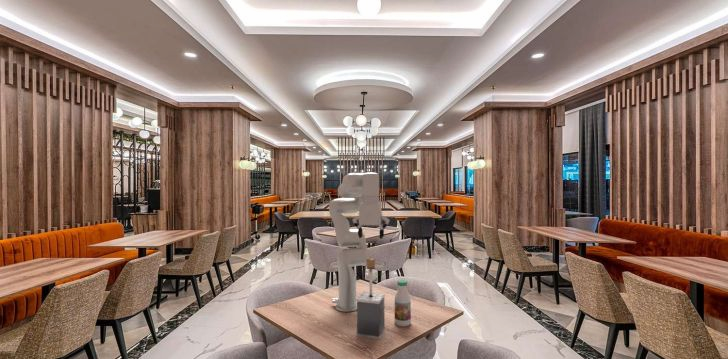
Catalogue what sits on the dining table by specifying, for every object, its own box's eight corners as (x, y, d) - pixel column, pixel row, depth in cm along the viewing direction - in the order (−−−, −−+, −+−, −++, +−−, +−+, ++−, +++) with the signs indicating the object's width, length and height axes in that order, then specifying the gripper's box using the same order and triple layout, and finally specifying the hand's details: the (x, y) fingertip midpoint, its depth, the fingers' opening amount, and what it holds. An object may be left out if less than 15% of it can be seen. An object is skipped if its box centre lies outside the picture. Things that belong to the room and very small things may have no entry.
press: (356, 336, 136) (356, 299, 136) (365, 323, 148) (364, 289, 149) (379, 339, 133) (379, 301, 133) (386, 326, 145) (386, 291, 146)
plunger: (359, 306, 137) (359, 260, 138) (364, 299, 145) (364, 256, 146) (377, 308, 135) (377, 261, 135) (382, 301, 143) (381, 257, 143)
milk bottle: (393, 320, 152) (392, 279, 153) (408, 319, 153) (408, 278, 153) (396, 327, 144) (395, 283, 145) (412, 326, 145) (412, 283, 145)
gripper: (349, 200, 140) (350, 238, 140) (387, 200, 135) (387, 239, 135) (355, 199, 147) (355, 236, 147) (390, 199, 142) (391, 237, 142)
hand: (370, 237), depth 141 cm, fingers open, 9 cm apart
